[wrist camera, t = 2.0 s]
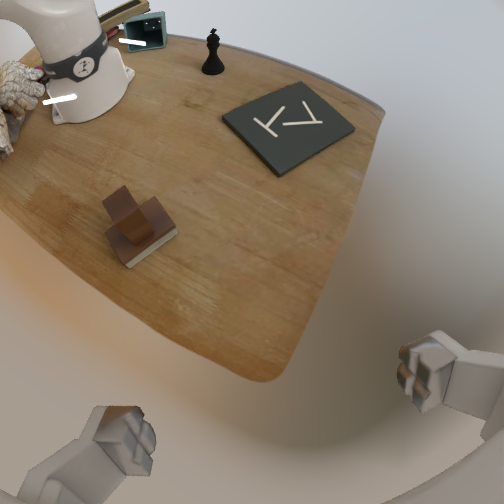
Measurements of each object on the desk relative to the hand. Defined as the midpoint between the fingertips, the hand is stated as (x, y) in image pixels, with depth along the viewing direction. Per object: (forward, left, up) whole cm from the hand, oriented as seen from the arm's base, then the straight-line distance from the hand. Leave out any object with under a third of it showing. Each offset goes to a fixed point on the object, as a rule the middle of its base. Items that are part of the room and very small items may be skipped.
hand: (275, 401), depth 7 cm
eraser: (-19, -1, -27) cm, 32 cm away
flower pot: (-66, +25, -23) cm, 75 cm away
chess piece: (-42, +26, -27) cm, 56 cm away
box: (-78, +17, -25) cm, 83 cm away
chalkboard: (-22, +28, -27) cm, 44 cm away
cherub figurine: (-60, -17, -18) cm, 65 cm away
